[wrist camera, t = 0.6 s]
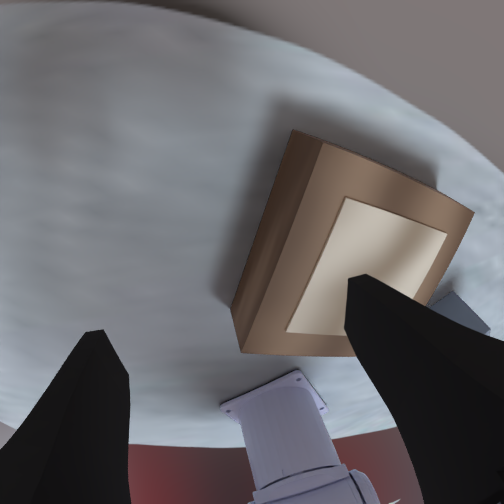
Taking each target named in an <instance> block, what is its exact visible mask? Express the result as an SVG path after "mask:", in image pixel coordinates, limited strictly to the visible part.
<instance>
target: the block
mask: <svg viewBox="0 0 504 504" xmlns="http://www.w3.org/2000/svg"><path fill="white" fill-rule="evenodd" d="M430 309H431V310H433V311H435V312H437V313H439V314H441V315H443V316H445V317H447V318H449V319H451V320H453V321H455V322H457V323H459V324H461V325H464V326H466V327H468V328H470V329H473V330H475V331H478V332H480V333H483V334H485V335H488V336H489V335H490V330H491V329H490V328H489V327H488V326H487V325H486V324H485V323H484V321H483V320H482V319H481V318H480V317H479V316H478V315H477V314H476V313H475V312H474V311H473V310H472V309H471V308H470V307H469V306H468V305H467V304H466V303H465V302H464V301H463V300H462V299H461V298H460V297H459V296H458V295H457V294H456V293H455V292H454V291H452V292H451V293H449V294H448V295H447V296H445V297H444V298H443V299H441V300H440V301H438V302H437V303H436V304H434V305H433V306H431V307H430Z"/></svg>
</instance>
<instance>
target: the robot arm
mask: <svg viewBox="0 0 504 504" xmlns="http://www.w3.org/2000/svg"><path fill="white" fill-rule="evenodd" d="M344 330H345V332H346V335H347V337H348V339H349V342H350V344H351V346H352V348H353V350H354V352H355V355H356V356H357V358H358V360H359V361H360V363H361V365H362V366H363V368H364V370H365V371H366V373H367V375H368V376H369V378H370V379H371V381H372V383H373V384H374V386H375V388H376V389H377V391H378V392H379V394H380V396H381V397H382V399H383V401H384V402H385V404H386V406H387V407H388V409H389V411H390V413H391V414H392V416H393V418H394V420H395V422H396V425H397V427H398V429H399V431H400V434H401V436H402V438H403V441H404V443H405V446H406V448H407V451H408V453H409V456H410V459H411V461H412V464H413V467H414V470H415V473H416V476H417V479H418V482H419V485H420V488H421V492H422V496H423V500H424V504H504V341H502V340H499V339H496V338H493V337H490V336H488V335H485V334H483V333H480V332H478V331H475V330H473V329H470V328H468V327H466V326H464V325H461V324H459V323H457V322H455V321H453V320H451V319H449V318H447V317H445V316H443V315H441V314H439V313H437V312H435V311H433V310H431V309H430V308H428V307H426V306H424V305H422V304H420V303H419V302H417V301H415V300H413V299H411V298H410V297H408V296H406V295H404V294H403V293H401V292H399V291H397V290H396V289H394V288H392V287H390V286H389V285H387V284H385V283H383V282H381V281H380V280H378V279H376V278H374V277H372V276H370V275H368V274H362V275H358V276H355V277H351V278H348V287H347V300H346V311H345V322H344ZM220 410H221V411H222V412H224V413H225V414H226V415H228V416H229V417H230V418H232V419H233V420H234V421H236V422H237V423H239V424H240V425H241V428H242V432H243V437H244V441H245V445H246V449H247V453H248V458H249V462H250V466H251V470H252V474H253V477H254V482H255V486H256V489H257V491H255V492H253V496H254V501H252V502H249V503H248V504H380V502H379V499H378V496H377V494H376V492H375V490H374V488H373V486H372V484H371V482H370V480H369V479H368V477H367V476H366V475H365V474H364V473H362V472H359V471H357V470H355V469H354V470H351V471H349V472H348V470H347V468H346V465H345V464H341V463H340V461H339V458H338V455H337V453H336V450H335V448H334V446H333V443H332V441H331V438H330V436H329V434H328V431H327V429H326V427H325V424H324V422H323V419H322V417H321V415H323V414H325V413H327V412H328V411H329V409H328V407H327V406H326V404H325V403H324V402H323V400H322V399H321V398H320V396H319V395H318V394H317V392H316V391H315V390H314V388H313V387H312V386H311V384H310V383H309V382H308V380H307V379H306V378H305V376H304V375H303V373H302V372H301V371H300V370H295V371H293V372H291V373H289V374H287V375H285V376H283V377H281V378H279V379H277V380H275V381H272V382H270V383H268V384H266V385H264V386H262V387H260V388H257V389H255V390H253V391H251V392H249V393H246V394H244V395H242V396H239V397H237V398H235V399H233V400H230V401H228V402H225V403H223V404H221V405H220ZM129 421H130V388H129V374H128V373H127V371H126V369H125V367H124V366H123V364H122V362H121V361H120V359H119V357H118V355H117V353H116V352H115V350H114V348H113V346H112V344H111V343H110V341H109V339H108V337H107V335H106V333H105V331H104V329H103V330H97V331H90V332H85V334H84V335H83V336H82V338H81V339H80V340H79V342H78V343H77V345H76V346H75V347H74V349H73V350H72V352H71V353H70V355H69V356H68V358H67V359H66V361H65V362H64V364H63V365H62V367H61V368H60V370H59V371H58V373H57V374H56V376H55V377H54V379H53V380H52V382H51V383H50V385H49V386H48V388H47V389H46V391H45V392H44V393H43V395H42V396H41V398H40V399H39V401H38V402H37V404H36V405H35V406H34V408H33V409H32V411H31V412H30V414H29V415H28V416H27V418H26V419H25V420H24V422H23V423H22V424H21V426H20V427H19V428H18V429H17V431H16V432H15V433H14V434H13V436H12V437H11V438H10V439H9V441H8V442H7V443H6V444H5V445H4V446H3V447H2V448H1V449H0V504H131V498H130V491H129V482H128V442H129Z"/></svg>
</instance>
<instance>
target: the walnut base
mask: <svg viewBox="0 0 504 504" xmlns="http://www.w3.org/2000/svg"><path fill="white" fill-rule="evenodd" d="M474 213H475V212H473V211H472V210H470V209H468V208H467V207H465V206H463V205H462V204H460V203H458V202H457V201H455V200H453V199H452V198H450V197H448V196H446V195H445V194H443V193H441V192H439V191H438V190H436V189H434V188H432V187H430V186H428V185H426V184H424V183H422V182H420V181H418V180H416V179H414V178H411V177H409V176H407V175H405V174H403V173H401V172H399V171H397V170H394V169H392V168H390V167H388V166H385V165H383V164H381V163H379V162H376V161H374V160H372V159H369V158H367V157H365V156H362V155H360V154H357V153H355V152H353V151H350V150H348V149H345V148H342V147H340V146H337V145H335V144H332V143H330V142H327V141H324V140H322V139H319V138H316V137H313V136H311V135H308V134H305V133H302V132H299V131H296V130H292V133H291V136H290V139H289V142H288V145H287V148H286V151H285V153H284V156H283V159H282V162H281V165H280V168H279V171H278V174H277V176H276V179H275V182H274V185H273V188H272V191H271V194H270V196H269V199H268V202H267V205H266V208H265V211H264V214H263V217H262V220H261V222H260V225H259V228H258V231H257V234H256V237H255V240H254V243H253V245H252V248H251V251H250V254H249V257H248V260H247V263H246V266H245V268H244V271H243V274H242V277H241V280H240V283H239V286H238V289H237V292H236V294H235V297H234V300H233V303H232V306H231V309H230V310H231V314H232V318H233V323H234V327H235V331H236V335H237V339H238V343H239V347H240V351H241V353H251V354H267V355H287V356H324V357H357V356H356V355H355V352H354V350H353V348H352V346H351V344H350V342H349V339H348V337H347V335H346V332H345V330H344V322H345V311H346V300H347V287H348V278H351V277H355V276H358V275H362V274H368V275H370V276H372V277H374V278H376V279H378V280H380V281H381V282H383V283H385V284H387V285H389V286H390V287H392V288H394V289H396V290H397V291H399V292H401V293H403V294H404V295H406V296H408V297H410V298H411V299H413V300H415V301H417V302H419V303H420V304H422V305H424V306H426V304H427V303H428V301H429V299H430V298H431V296H432V294H433V293H434V291H435V289H436V288H437V286H438V284H439V282H440V281H441V279H442V277H443V275H444V273H445V272H446V270H447V268H448V266H449V264H450V262H451V260H452V259H453V257H454V255H455V253H456V251H457V249H458V247H459V245H460V243H461V241H462V239H463V237H464V235H465V233H466V231H467V228H468V226H469V224H470V222H471V220H472V218H473V215H474Z"/></svg>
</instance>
